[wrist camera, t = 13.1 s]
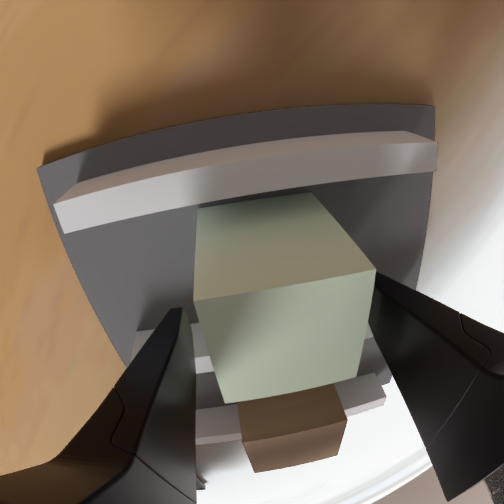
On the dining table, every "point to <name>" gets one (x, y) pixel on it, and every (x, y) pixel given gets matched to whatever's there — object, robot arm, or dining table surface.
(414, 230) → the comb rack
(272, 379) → the sage block
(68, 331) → the dining table surface
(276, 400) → the walnut block
